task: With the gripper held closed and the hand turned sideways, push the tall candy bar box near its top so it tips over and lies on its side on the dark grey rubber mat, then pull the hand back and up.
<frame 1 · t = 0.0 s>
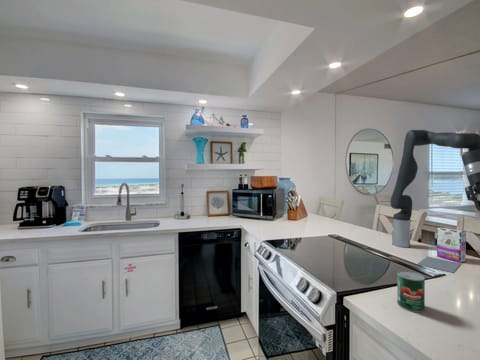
canned tomato: (410, 306, 83), on the worktop
rubber mat: (439, 264, 123), on the worktop
candy bar box: (450, 259, 130), on the worktop
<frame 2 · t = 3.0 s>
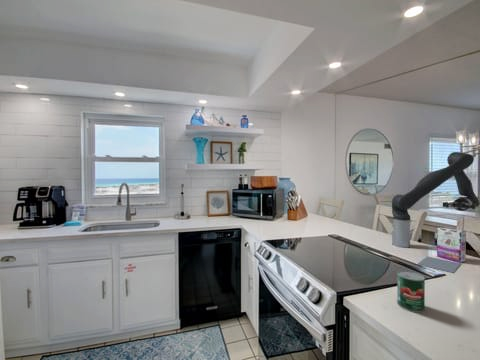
hand: (456, 206, 137), 28 cm above the worktop, tool horizontal, fingers open, 8 cm apart
nothing on the worktop moved.
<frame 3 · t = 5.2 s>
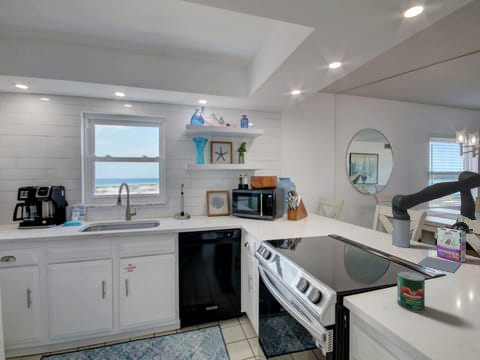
hand: (455, 232, 136), 13 cm above the worktop, tool horizontal, fingers closed
nothing on the worktop moved.
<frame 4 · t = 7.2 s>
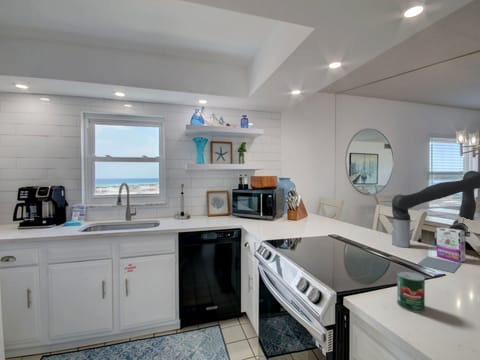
hand: (452, 234, 131), 13 cm above the worktop, tool horizontal, fingers closed
candy bar box: (450, 259, 130), on the worktop, touching gripper
everything else where it was.
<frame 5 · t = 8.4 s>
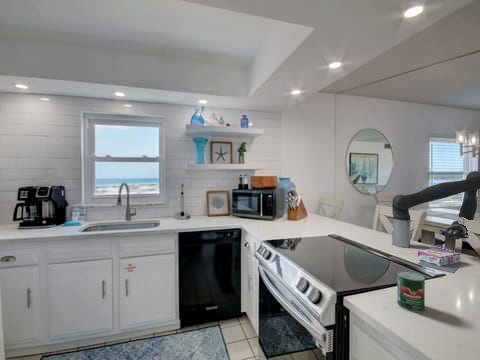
hand: (449, 236, 128), 13 cm above the worktop, tool horizontal, fingers closed
candy bar box: (448, 254, 130), point 3 cm above the worktop, touching rubber mat
everything else where it was.
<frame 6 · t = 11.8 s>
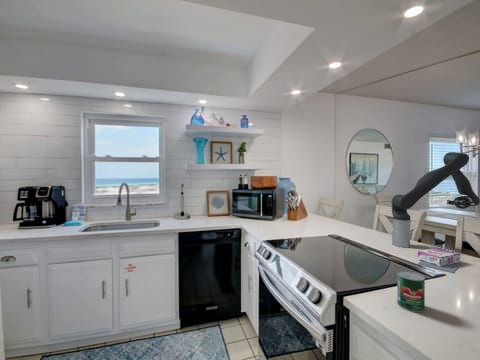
hand: (456, 203, 138), 29 cm above the worktop, tool horizontal, fingers closed
nothing on the worktop moved.
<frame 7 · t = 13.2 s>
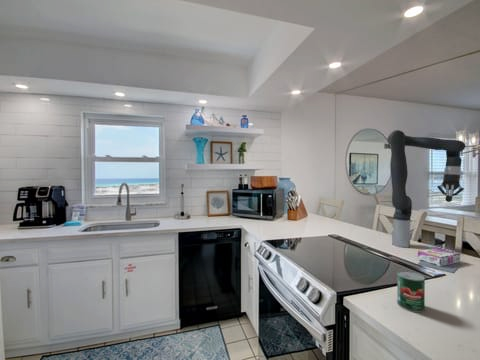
hand: (448, 201, 146), 30 cm above the worktop, tool pointing down, fingers closed
nothing on the worktop moved.
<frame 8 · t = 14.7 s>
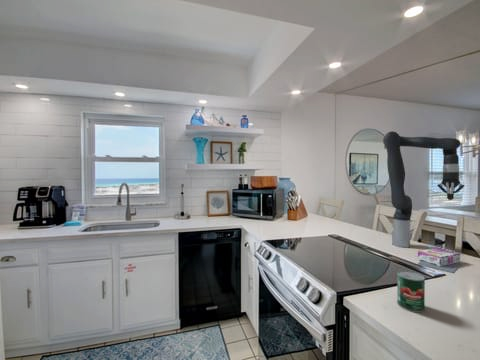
hand: (450, 199, 145), 31 cm above the worktop, tool pointing down, fingers closed
nothing on the worktop moved.
at the end: candy bar box tilted 91°; candy bar box inside the target area (4.4 cm from its centre), point 2.8 cm above the worktop; candy bar box touching rubber mat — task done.
